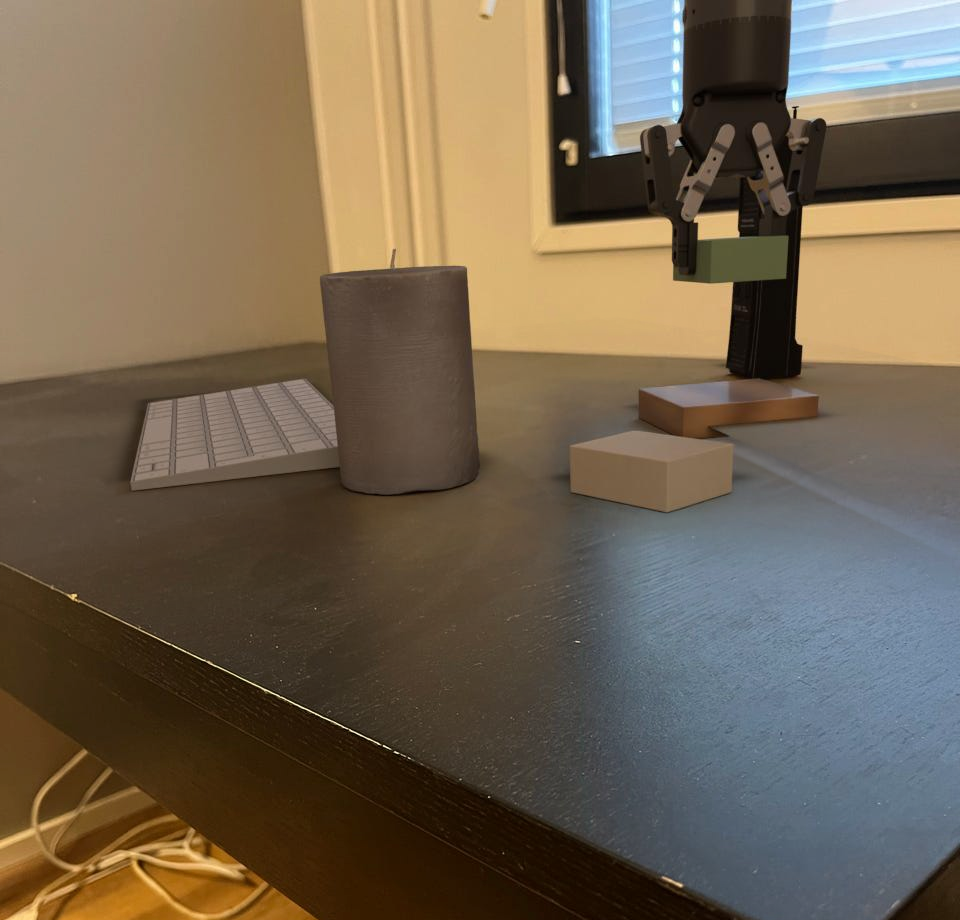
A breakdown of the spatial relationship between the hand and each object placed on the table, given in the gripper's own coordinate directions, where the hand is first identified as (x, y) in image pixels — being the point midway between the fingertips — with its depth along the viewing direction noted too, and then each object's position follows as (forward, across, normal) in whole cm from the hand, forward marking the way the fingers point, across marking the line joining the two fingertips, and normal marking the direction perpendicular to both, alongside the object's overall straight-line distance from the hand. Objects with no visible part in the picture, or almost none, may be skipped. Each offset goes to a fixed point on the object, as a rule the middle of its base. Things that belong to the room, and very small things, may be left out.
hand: (727, 271), depth 77 cm
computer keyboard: (+12, -40, +17) cm, 45 cm away
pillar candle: (+12, -27, -10) cm, 31 cm away
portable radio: (+12, +14, +24) cm, 31 cm away
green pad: (+1, 0, 0) cm, 1 cm away
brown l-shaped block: (+12, 0, 0) cm, 12 cm away
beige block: (+12, -13, -20) cm, 26 cm away
